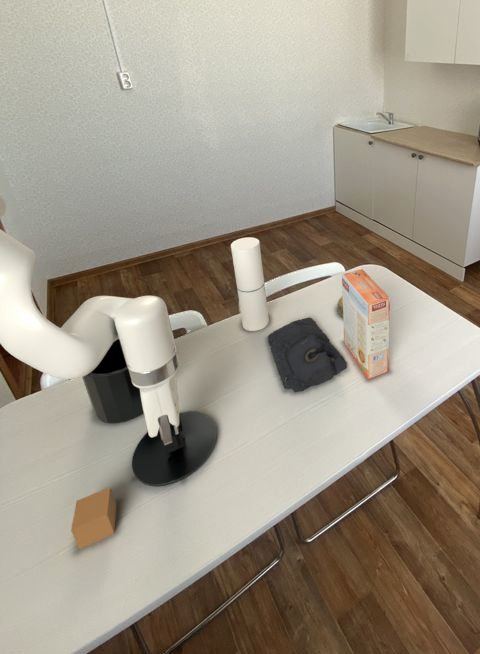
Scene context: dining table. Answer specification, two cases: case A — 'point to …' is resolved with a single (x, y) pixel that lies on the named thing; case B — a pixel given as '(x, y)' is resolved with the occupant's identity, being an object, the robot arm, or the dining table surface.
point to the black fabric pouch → (304, 355)
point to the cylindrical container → (250, 283)
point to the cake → (340, 307)
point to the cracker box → (366, 322)
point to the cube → (94, 518)
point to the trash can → (113, 388)
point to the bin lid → (175, 452)
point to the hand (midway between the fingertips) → (174, 440)
